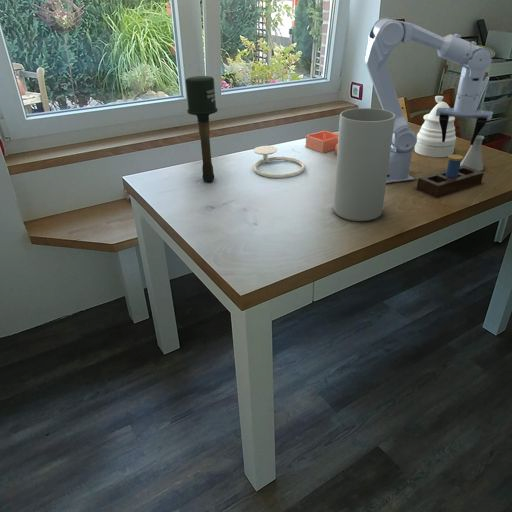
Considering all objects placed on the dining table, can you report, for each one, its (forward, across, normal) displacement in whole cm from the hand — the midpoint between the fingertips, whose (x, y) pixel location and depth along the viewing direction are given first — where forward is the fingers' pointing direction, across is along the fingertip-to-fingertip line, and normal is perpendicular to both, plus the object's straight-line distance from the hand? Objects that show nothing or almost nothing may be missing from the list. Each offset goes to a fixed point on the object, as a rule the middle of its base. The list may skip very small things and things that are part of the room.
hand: (457, 142), depth 128 cm
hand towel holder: (+11, +53, +12) cm, 55 cm away
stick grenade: (+11, +68, +30) cm, 75 cm away
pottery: (+11, +41, -11) cm, 43 cm away
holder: (+10, 0, +9) cm, 14 cm away
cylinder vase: (+11, +20, +35) cm, 41 cm away
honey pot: (+11, +7, -22) cm, 26 cm away
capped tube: (+10, 0, +9) cm, 14 cm away
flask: (+11, -5, -9) cm, 15 cm away
